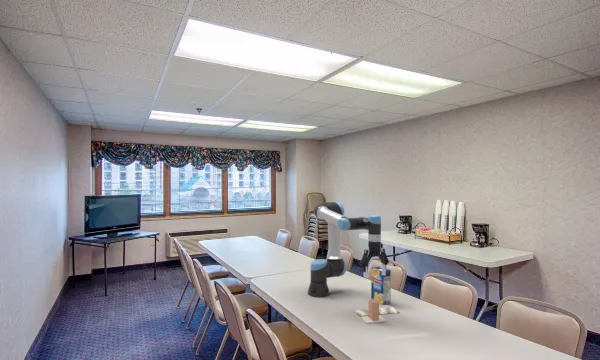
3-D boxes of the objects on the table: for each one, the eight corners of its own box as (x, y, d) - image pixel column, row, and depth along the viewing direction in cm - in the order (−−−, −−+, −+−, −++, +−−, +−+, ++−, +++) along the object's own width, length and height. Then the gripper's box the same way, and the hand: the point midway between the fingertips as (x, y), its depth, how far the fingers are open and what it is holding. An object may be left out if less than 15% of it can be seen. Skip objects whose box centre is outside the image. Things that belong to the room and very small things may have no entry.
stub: (366, 323, 179) (366, 303, 179) (361, 318, 186) (361, 299, 186) (386, 321, 182) (386, 302, 182) (380, 316, 189) (380, 297, 189)
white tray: (366, 325, 179) (366, 322, 179) (353, 313, 196) (353, 310, 196) (409, 321, 185) (409, 318, 185) (392, 309, 202) (392, 306, 202)
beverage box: (383, 305, 209) (383, 271, 209) (371, 300, 218) (371, 267, 219) (390, 303, 213) (391, 270, 213) (378, 298, 222) (378, 266, 222)
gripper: (361, 243, 188) (361, 280, 187) (395, 240, 198) (395, 275, 198) (353, 241, 195) (353, 276, 194) (386, 238, 205) (386, 272, 205)
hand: (374, 276), depth 196 cm, fingers open, 13 cm apart
